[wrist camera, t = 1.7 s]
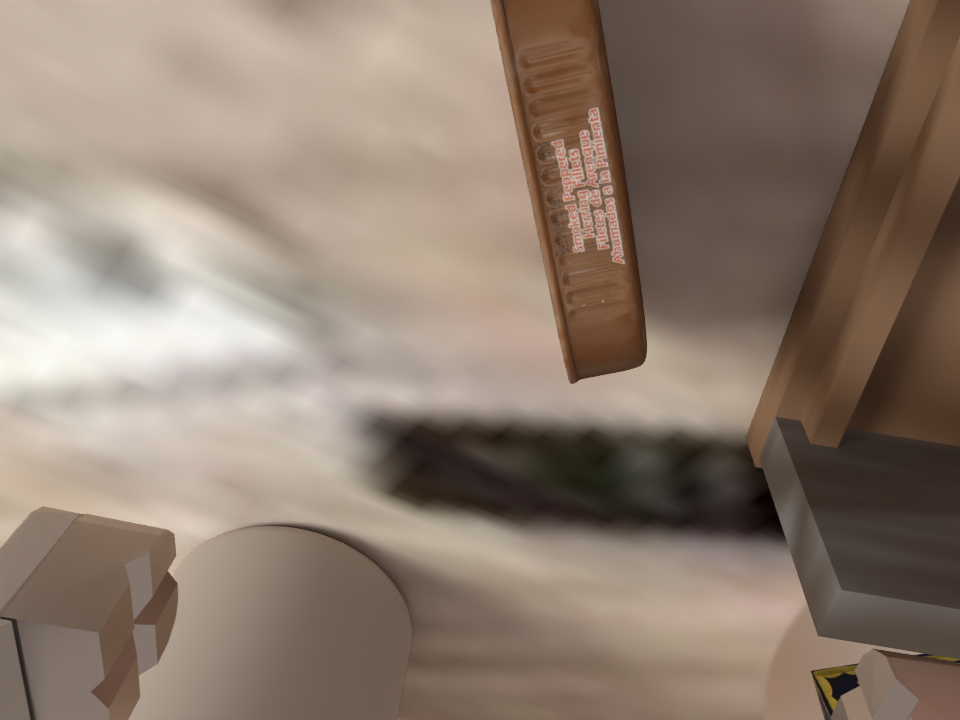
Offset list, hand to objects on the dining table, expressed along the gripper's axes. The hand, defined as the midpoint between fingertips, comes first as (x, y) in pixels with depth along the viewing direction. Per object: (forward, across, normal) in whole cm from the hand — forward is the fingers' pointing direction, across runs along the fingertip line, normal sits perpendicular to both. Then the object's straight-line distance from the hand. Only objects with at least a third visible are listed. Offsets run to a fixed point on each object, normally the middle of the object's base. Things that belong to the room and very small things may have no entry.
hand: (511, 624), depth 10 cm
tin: (+23, -1, -1) cm, 23 cm away
